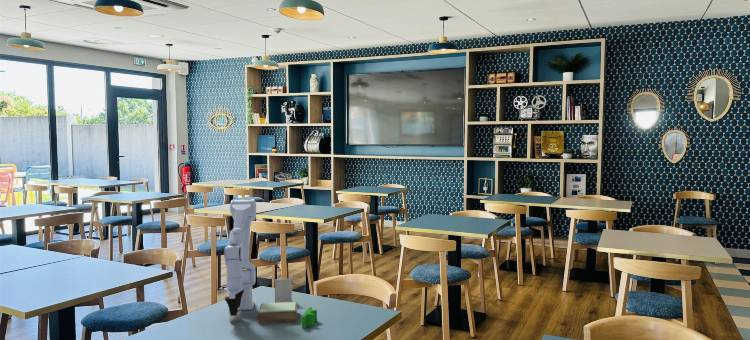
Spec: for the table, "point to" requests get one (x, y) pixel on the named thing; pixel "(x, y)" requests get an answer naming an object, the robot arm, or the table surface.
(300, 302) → the table surface
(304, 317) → the pipe clamp
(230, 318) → the grey metal cylinder
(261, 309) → the walnut stand
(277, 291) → the grey rectangular block
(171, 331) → the table surface
